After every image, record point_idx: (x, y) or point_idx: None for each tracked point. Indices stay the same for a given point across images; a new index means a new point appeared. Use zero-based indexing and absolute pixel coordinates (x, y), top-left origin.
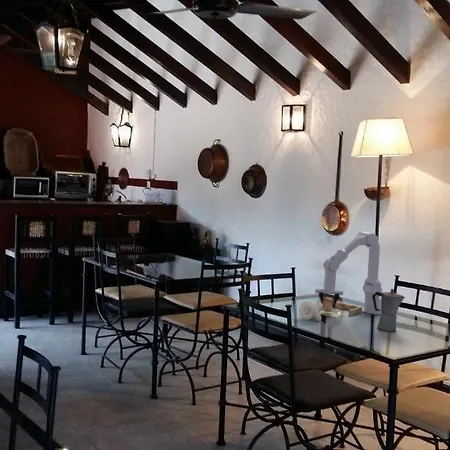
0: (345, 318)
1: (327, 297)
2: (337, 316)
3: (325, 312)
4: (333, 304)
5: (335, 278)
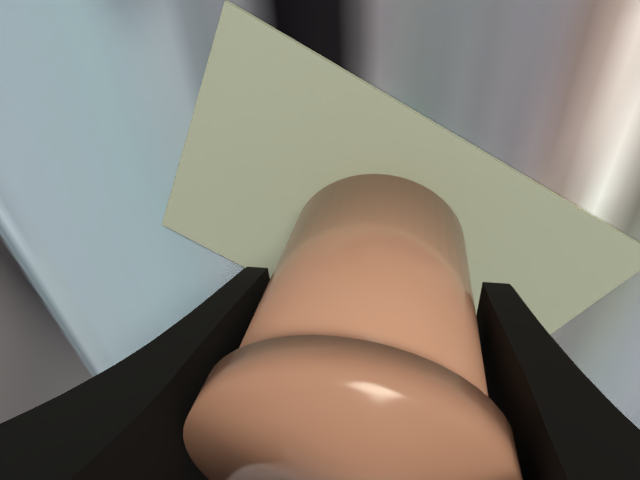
0: (619, 392)
1: (289, 396)
2: None
3: None
4: (493, 351)
5: None
